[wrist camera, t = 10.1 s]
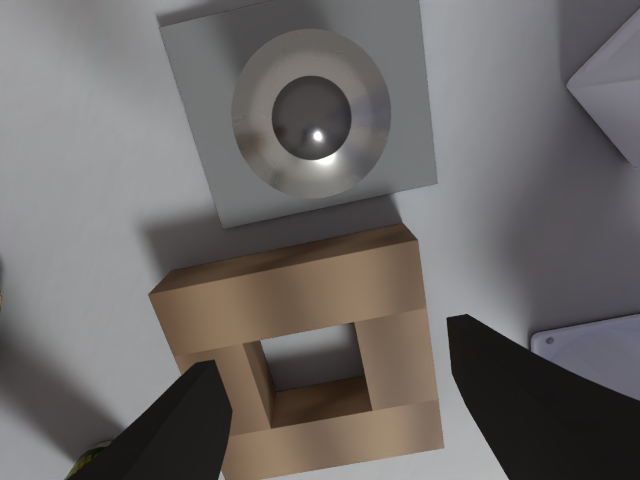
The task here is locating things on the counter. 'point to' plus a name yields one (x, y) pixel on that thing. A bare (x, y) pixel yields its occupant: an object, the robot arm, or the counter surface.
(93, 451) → the green soda can
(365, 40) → the rubber mat
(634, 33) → the soap bottle
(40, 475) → the counter surface
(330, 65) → the grey round-capped cylinder
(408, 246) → the bore block
